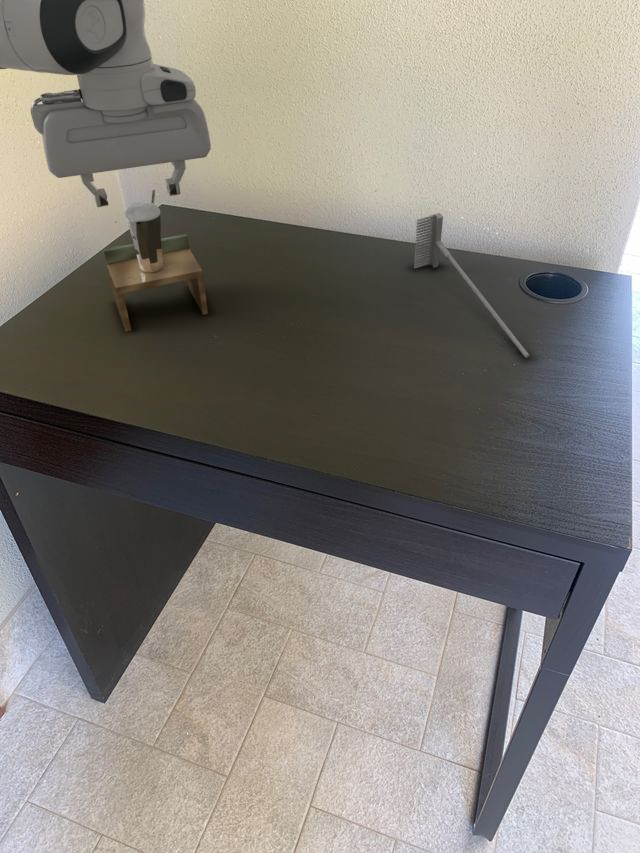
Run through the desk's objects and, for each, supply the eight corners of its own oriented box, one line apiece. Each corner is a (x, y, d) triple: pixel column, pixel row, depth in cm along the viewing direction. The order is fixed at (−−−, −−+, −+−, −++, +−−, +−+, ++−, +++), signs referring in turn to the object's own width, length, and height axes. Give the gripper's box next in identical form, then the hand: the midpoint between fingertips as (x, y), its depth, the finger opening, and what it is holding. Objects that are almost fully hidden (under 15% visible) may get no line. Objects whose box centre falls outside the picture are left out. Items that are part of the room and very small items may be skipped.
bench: (125, 331, 96) (112, 274, 90) (116, 304, 102) (102, 249, 96) (208, 313, 100) (200, 257, 94) (194, 288, 105) (186, 233, 99)
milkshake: (177, 261, 97) (168, 192, 91) (155, 278, 94) (144, 207, 87) (151, 254, 99) (140, 186, 92) (128, 270, 95) (115, 201, 88)
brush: (499, 388, 93) (510, 339, 86) (413, 268, 109) (416, 218, 102) (524, 379, 94) (537, 330, 87) (435, 261, 110) (439, 212, 103)
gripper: (28, 102, 76) (59, 221, 85) (207, 83, 82) (219, 196, 91) (23, 88, 80) (54, 202, 89) (194, 70, 86) (206, 179, 95)
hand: (138, 199), depth 90 cm, fingers open, 8 cm apart
